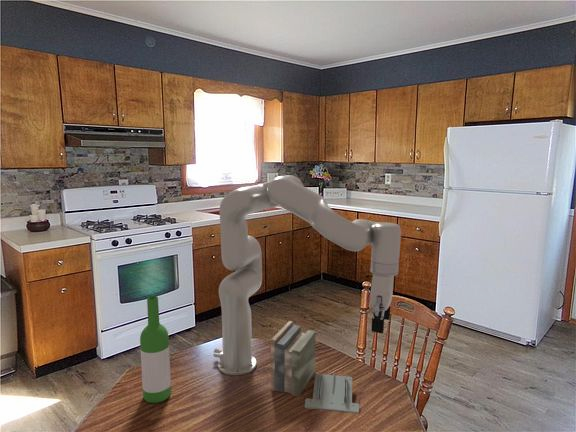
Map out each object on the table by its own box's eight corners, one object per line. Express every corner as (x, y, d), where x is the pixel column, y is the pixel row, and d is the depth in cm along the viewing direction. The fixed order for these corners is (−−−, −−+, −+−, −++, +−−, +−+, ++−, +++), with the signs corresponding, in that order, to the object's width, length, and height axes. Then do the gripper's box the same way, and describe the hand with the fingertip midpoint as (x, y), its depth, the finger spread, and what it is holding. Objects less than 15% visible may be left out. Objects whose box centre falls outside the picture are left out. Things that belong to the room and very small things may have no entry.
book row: (271, 389, 121) (270, 339, 118) (289, 366, 134) (289, 320, 131) (299, 396, 117) (299, 345, 115) (314, 372, 130) (315, 325, 128)
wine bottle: (137, 398, 116) (131, 298, 111) (159, 385, 122) (155, 290, 118) (154, 408, 112) (149, 304, 107) (176, 394, 118) (172, 296, 113)
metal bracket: (309, 366, 123) (359, 371, 121) (309, 380, 126) (358, 385, 123) (303, 406, 110) (359, 412, 108) (304, 421, 113) (358, 426, 111)
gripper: (377, 258, 121) (373, 312, 124) (364, 273, 106) (360, 335, 108) (402, 261, 118) (398, 316, 121) (393, 277, 103) (388, 340, 105)
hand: (380, 325), depth 115 cm, fingers open, 9 cm apart
